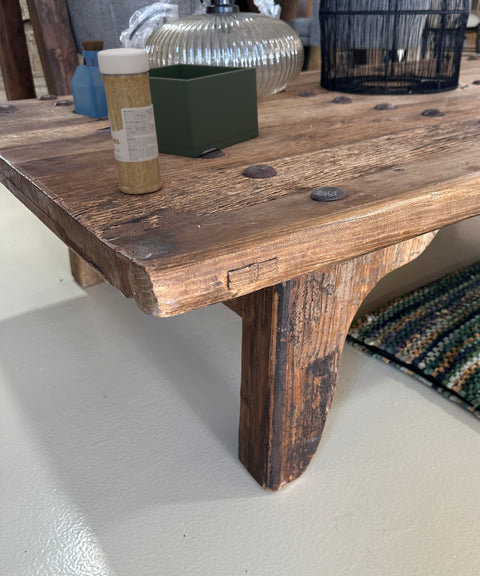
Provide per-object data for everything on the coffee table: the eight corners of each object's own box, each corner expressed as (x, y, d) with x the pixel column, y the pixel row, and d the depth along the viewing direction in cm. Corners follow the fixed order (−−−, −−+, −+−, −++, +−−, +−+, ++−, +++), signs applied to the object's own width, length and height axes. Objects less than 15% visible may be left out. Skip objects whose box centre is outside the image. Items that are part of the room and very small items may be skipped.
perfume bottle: (78, 125, 89) (62, 41, 83) (113, 119, 93) (101, 38, 87) (97, 130, 85) (83, 43, 80) (134, 124, 89) (122, 40, 83)
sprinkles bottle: (116, 186, 60) (93, 49, 54) (158, 180, 62) (141, 46, 56) (123, 198, 57) (99, 52, 50) (168, 191, 58) (151, 50, 52)
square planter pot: (118, 145, 77) (106, 74, 72) (185, 126, 87) (179, 63, 82) (195, 158, 70) (187, 80, 66) (258, 135, 80) (256, 67, 76)
